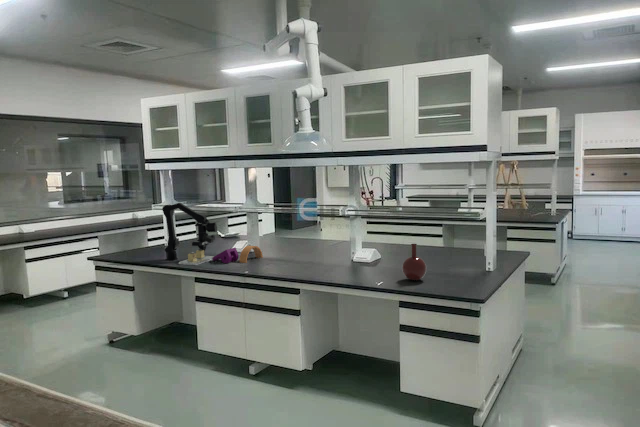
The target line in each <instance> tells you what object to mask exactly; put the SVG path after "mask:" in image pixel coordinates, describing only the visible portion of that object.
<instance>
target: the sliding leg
mask: <svg viewBox="0 0 640 427" xmlns="http://www.w3.org/2000/svg"><path fill="white" fill-rule="evenodd" d="M195 253H196V257H197V258H203V257H204V256H205V253H204V250H202V249H200V248H198V249H197V250H195Z"/></svg>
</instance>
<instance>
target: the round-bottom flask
mask: <svg viewBox="0 0 640 427" xmlns="http://www.w3.org/2000/svg"><path fill="white" fill-rule="evenodd" d="M417 245H418V244H417V243H411V244H410V246H411V256H409V257H407V258H406V259H404V260H403V262H402V265H401V271H402V274H403V276H404V277H405V278H406V279H407V280H410V281H413V280H414V281H415V280H416V281H419V280H421V279H423V278H424V277H425V275H426V273H427V264H426V262H425V261H424V259H423V258H422V257H419V256H417Z"/></svg>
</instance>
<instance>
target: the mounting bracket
mask: <svg viewBox="0 0 640 427" xmlns="http://www.w3.org/2000/svg"><path fill="white" fill-rule="evenodd" d="M239 255H240V254H239V253H238V250H237V247H232V248H227V249H225V250H223V251H221V252H220V253H218V254H216V255H215V256H214V255H213V256H214V257H213V258H212V260H211V261H212V262H216V261H219V260H220V261H221V262H222V263H223V264H230V263H231V262H236V261H238V260H239V258H240V256H239Z"/></svg>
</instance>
